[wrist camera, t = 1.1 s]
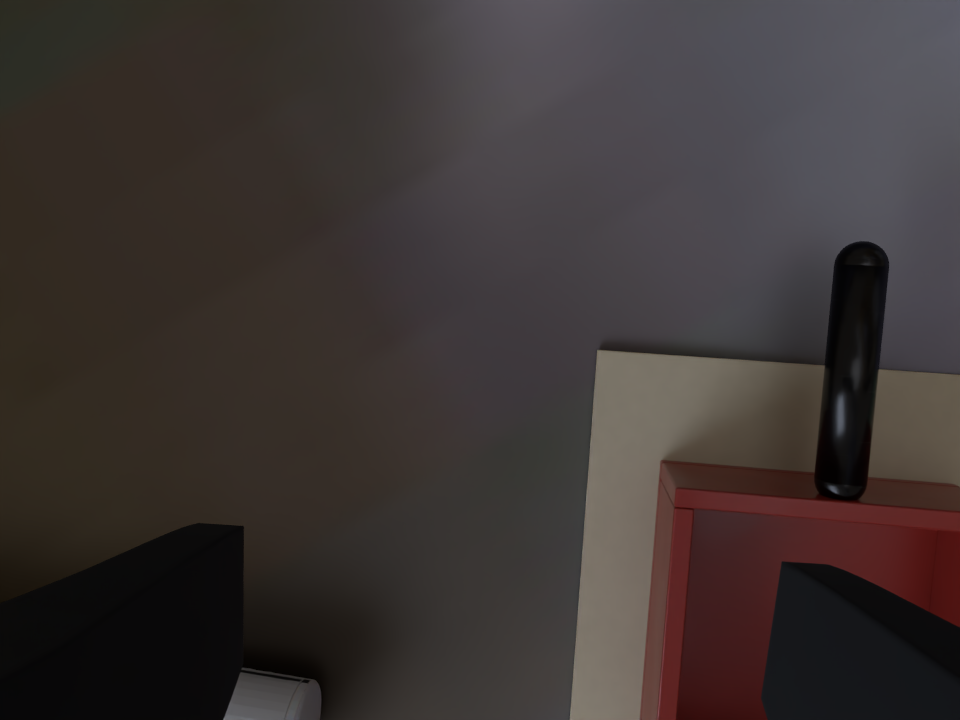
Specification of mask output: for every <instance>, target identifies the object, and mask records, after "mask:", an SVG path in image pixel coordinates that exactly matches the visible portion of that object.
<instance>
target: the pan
mask: <svg viewBox="0 0 960 720" xmlns="http://www.w3.org/2000/svg"><path fill="white" fill-rule="evenodd" d="M888 273H889V260H888V257H887V255H886V253H885V252H884V250H883V249H882V248H880V247H879V246H878V245H876V244H874V243H871V242H866V241H859V242H855V243H852V244H849V245H848V246H846V247H845V248H843V249H842V250H841V251H840V253H839V254H838V255H837V258H836V260H835V264H834V272H833V283H832V294H831V304H830V315H829V325H828V336H827V346H826V357H825V367H824V378H823V388H822V399H821V409H820V420H819V430H818V441H817V451H816V462H815V472H803V471H790V470H778V469H766V468H754V467H742V466H730V465H717V464H705V463H693V462H681V461H669V460H661V461H660V471H659V484H658V496H657V508H656V521H655V533H654V546H653V558H652V570H651V583H650V595H649V608H648V620H647V632H646V645H645V657H644V670H643V682H642V694H641V707H640V719H639V720H767V716H766V713H765V710H764V707H763V703H762V700H761V694H762V687H763V681H764V674H765V668H766V661H767V654H768V648H769V641H770V635H771V628H772V621H773V615H774V608H775V602H776V595H777V588H778V582H779V575H780V569H781V562H782V561H785V562H800V563H816V564H828V565H831V566H834V567H837V568H840V569H843V570H845V571H848V572H850V573H853V574H855V575H857V576H859V577H861V578H863V579H866V580H868V581H870V582H872V583H874V584H876V585H878V586H880V587H882V588H884V589H886V590H888V591H890V592H892V593H894V594H896V595H898V596H899V597H901V598H903V599H905V600H907V601H909V602H911V603H913V604H915V605H917V606H919V607H921V608H923V609H925V610H927V611H928V612H930V613H932V614H934V615H936V616H938V617H940V618H942V619H944V620H946V621H948V622H950V623H952V624H954V625H956V626H958V627H960V487H959V486H957V485H955V484H949V483H936V482H924V481H912V480H900V479H888V478H876V477H868V472H869V462H870V452H871V442H872V432H873V422H874V412H875V402H876V393H877V383H878V373H879V363H880V353H881V343H882V333H883V323H884V313H885V303H886V293H887V283H888Z"/></svg>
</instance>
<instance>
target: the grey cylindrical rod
mask: <svg viewBox="0 0 960 720" xmlns="http://www.w3.org/2000/svg"><path fill="white" fill-rule="evenodd" d="M321 701H322V700H321V690H320V687H319V684H318V683H317V681H316V680H313V679H307V678H302V677H296V676H290V675H284V674H278V673H273V672H265V671H259V670H253V669H251V668H248V669H247V668H242V669H241V672H240V675H239V678H238V681H237V684H236V687H235V689H234V692H233V695H232V698H231V701H230V703H229V706H228V709H227V711H226V714H225V717H224V719H223V720H320V715H321Z"/></svg>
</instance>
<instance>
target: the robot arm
mask: <svg viewBox="0 0 960 720" xmlns="http://www.w3.org/2000/svg"><path fill="white" fill-rule="evenodd" d="M243 568H244V526H234V525H219V524H203V523H197V524H193V525H189V526H186V527H183V528H180V529H178V530H175V531H172V532H170V533H168V534H165V535H163V536H160V537H158V538H156V539H153V540H151V541H149V542H147V543H144V544H142V545H140V546H138V547H135V548H133V549H131V550H129V551H126V552H124V553H122V554H119V555H117V556H115V557H113V558H110V559H108V560H106V561H104V562H101V563H99V564H97V565H95V566H92V567H90V568H88V569H86V570H83V571H81V572H78V573H76V574H73V575H71V576H68V577H66V578H63V579H61V580H58V581H56V582H53V583H51V584H48V585H46V586H43V587H41V588H38V589H36V590H33V591H31V592H28V593H26V594H23V595H21V596H18V597H16V598H13V599H11V600H8V601H5V602H2V603H0V720H223V719H224V717H225V714H226V711H227V709H228V706H229V703H230V701H231V698H232V695H233V692H234V689H235V687H236V684H237V681H238V678H239V675H240V672H241V669H242V666H243ZM761 700H762V703H763V707H764V710H765V713H766V716H767V720H960V627H958V626H956V625H954V624H952V623H950V622H948V621H946V620H944V619H942V618H940V617H938V616H936V615H934V614H932V613H930V612H928V611H927V610H925V609H923V608H921V607H919V606H917V605H915V604H913V603H911V602H909V601H907V600H905V599H903V598H901V597H899V596H898V595H896V594H894V593H892V592H890V591H888V590H886V589H884V588H882V587H880V586H878V585H876V584H874V583H872V582H870V581H868V580H866V579H863V578H861V577H859V576H857V575H855V574H853V573H850V572H848V571H845V570H843V569H840V568H837V567H834V566H831V565H828V564H816V563H800V562H785V561H782V562H781V569H780V575H779V582H778V588H777V595H776V602H775V608H774V615H773V621H772V628H771V635H770V641H769V648H768V654H767V661H766V668H765V674H764V681H763V687H762V694H761Z"/></svg>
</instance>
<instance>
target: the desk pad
mask: <svg viewBox="0 0 960 720" xmlns="http://www.w3.org/2000/svg"><path fill="white" fill-rule="evenodd" d="M824 367H825V365H812V364H798V363H783V362H769V361H754V360H740V359H725V358H711V357H696V356H682V355H667V354H653V353H638V352H624V351H609V350H597V361H596V374H595V388H594V401H593V415H592V428H591V442H590V455H589V469H588V482H587V496H586V509H585V523H584V536H583V550H582V563H581V577H580V590H579V604H578V617H577V631H576V644H575V658H574V671H573V685H572V699H571V712H570V720H639V719H640V707H641V694H642V682H643V670H644V657H645V645H646V632H647V620H648V608H649V595H650V583H651V570H652V558H653V546H654V533H655V521H656V508H657V496H658V484H659V471H660V461H661V460H669V461H681V462H693V463H705V464H717V465H730V466H742V467H754V468H766V469H778V470H790V471H803V472H815V462H816V451H817V441H818V430H819V420H820V409H821V399H822V388H823V378H824ZM868 477H876V478H888V479H900V480H912V481H924V482H936V483H949V484H955V485H957V486H959V487H960V375H957V374H943V373H928V372H914V371H899V370H885V369H879V373H878V383H877V393H876V402H875V412H874V422H873V432H872V442H871V452H870V462H869V472H868Z"/></svg>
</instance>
